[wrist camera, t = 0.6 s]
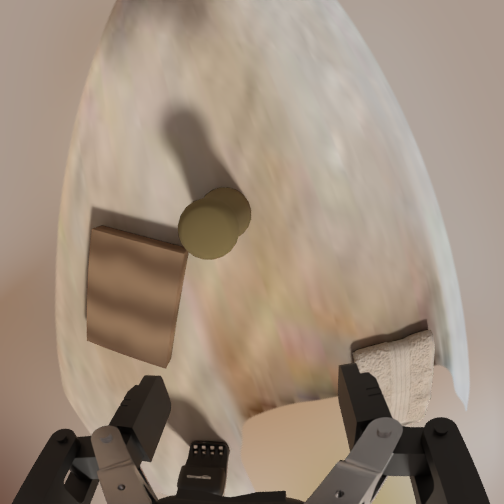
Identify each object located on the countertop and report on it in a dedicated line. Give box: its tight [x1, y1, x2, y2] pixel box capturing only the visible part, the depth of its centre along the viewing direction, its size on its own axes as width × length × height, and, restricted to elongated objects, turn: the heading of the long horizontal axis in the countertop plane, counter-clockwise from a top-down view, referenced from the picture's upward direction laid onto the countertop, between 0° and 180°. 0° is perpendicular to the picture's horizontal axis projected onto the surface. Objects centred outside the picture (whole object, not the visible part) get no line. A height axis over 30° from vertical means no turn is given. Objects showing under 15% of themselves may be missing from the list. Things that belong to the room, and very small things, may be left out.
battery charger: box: [177, 441, 230, 496], centre depth 39 cm, size 7×4×11 cm, turn 95°
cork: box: [178, 187, 251, 260], centre depth 30 cm, size 6×6×11 cm
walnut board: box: [87, 225, 189, 368], centre depth 37 cm, size 16×12×2 cm
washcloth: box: [352, 330, 435, 426], centre depth 39 cm, size 12×18×3 cm, turn 14°
